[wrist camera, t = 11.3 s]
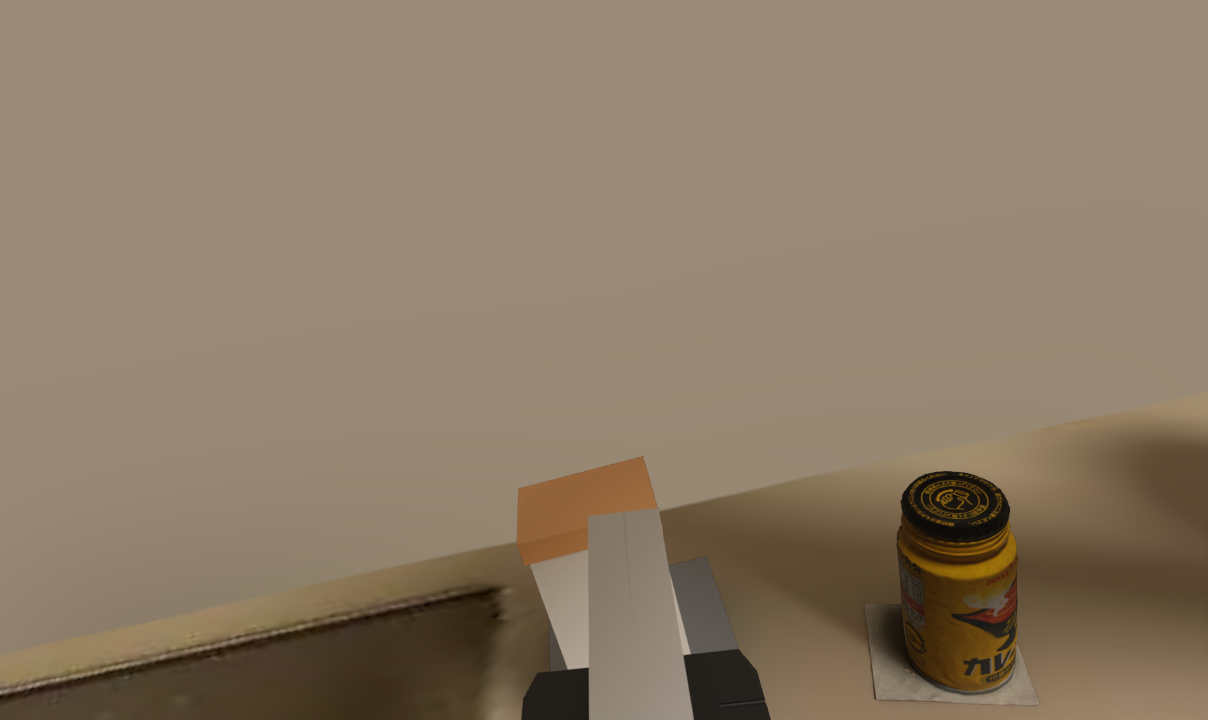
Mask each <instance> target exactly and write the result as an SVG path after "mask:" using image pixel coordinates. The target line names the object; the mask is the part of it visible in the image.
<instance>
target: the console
mask: <svg viewBox="0 0 1208 720" xmlns="http://www.w3.org/2000/svg"><path fill="white" fill-rule="evenodd" d="M668 567H669V572H670V576H671V580H672V583H673V587H674V591H675V595H676V599H677V603H678V607H679V611H680V614H681V618H682V622H683V626H684V630H685V634H686V638H687V641H688V645H689V649H690V653H691V654H697V653H706V652H715V651H724V650H732V649H739V648H738V645H737V642H736V640H735V637H734V634H733V631H732V628H731V625H730V623H729V620H728V617H727V614H726V611H725V608H724V605H723V603H722V600H721V597H720V594H719V591H718V588H717V586H716V583H715V580H714V577H713V574H712V571H711V568H710V566H709V563H708V560H707V557H706V556H705V557H701V558H697V559H693V560H689V561H685V562H681V563H677V564H674V565H670V566H668ZM549 642H550V672H551V671H560V670H568V668H567V666H566V663H565V660H564V657H563V655H562V652H561V649H560V646H559V644H558V641H557V638H556V635H555V633H554V630H553V627H552V624H551V622H550V619H549Z"/></svg>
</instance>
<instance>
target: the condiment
mask: <svg viewBox="0 0 1208 720" xmlns="http://www.w3.org/2000/svg"><path fill="white" fill-rule="evenodd" d="M901 508H902V512H903V513H902V517H901V523H902V525H901V526H900V527H899V530H898V532H897V550H898V562H899V574H900V584H901V600H902V603H901V605H896V604H892V605H891V604H881V603H877V604H864V607H865V613H866V622H867V630H868V638H869V646H870V654H871V662H872V669H873V677H874V685H875V693H876V699H877V700H888V699H891V700H905V701H907V700H917V701H937V702H953V703H968V704H971V703H973V704H997V705H1008V704H1013V705H1036V704H1039V701H1038V699H1037V696H1036V693H1035V690H1034V687H1033V685H1032V682H1031V679H1030V677H1029V674H1028V671H1027V668H1026V665H1025V662H1024V660H1023V657H1022V654H1021V651H1020V648H1019V646H1018V643H1017V603H1018V601H1017V562H1018V557H1017V546H1016V541H1015V538H1014V536H1013V534H1012V532H1011V531H1010V523H1009V513H1010V507H1009V505H1008V501H1007V499H1006V497H1005V495H1004V494H1003V493H1002V491H1001V489H998V488H997V487H996V486H995V485H994V484H993V483H991V482H990V481H988V480H985V479H983V478H980V477H978V476H975V475H972V474H968V473H964V472H952V471H941V472H933V473H929V474H925V475H923V476H921V477H918V478H917V479H916V480H915V481H913V482H912V483H911V484H910V485H909V486H908V487H907V489H906V490H905V491H904V493H903V495H902V500H901ZM905 668H906V669H908V670H909V671H910V672H911V673H908V672H906V671H905ZM912 673H915V674H916V675H917V677H916V676H914V675H912Z"/></svg>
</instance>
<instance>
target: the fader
mask: <svg viewBox="0 0 1208 720" xmlns="http://www.w3.org/2000/svg"><path fill="white" fill-rule="evenodd" d="M652 508H658V507H657V504H656V500H655V497H654V493H653V490H652V486H651V482H650V479H649V475H648V472H647V468H646V464H645V461H644V457H643V456H642V457H638V458H635V459H630V460H627V461H623V462H619V463H615V464H611V465H607V466H603V467H600V468H596V469H592V470H588V471H584V472H580V473H577V474H573V475H569V476H565V477H561V478H558V479H554V480H550V481H546V482H542V483H538V484H534V485H530V486H527V487H523V488H519V490H518V521H517V547H518V549H519V552H520V555H521V558H522V560H523V563H524V566H526V565H530V566H531V569H532V572H533V575H534V577H535V580H536V583H537V586H538V588H539V591H540V594H541V597H542V599H543V602H544V605H545V608H546V611H547V613H548V616H549V619H550V622H551V624H552V627H553V630H554V633H555V635H556V638H557V641H558V644H559V646H560V649H561V652H562V655H563V657H564V660H565V663H566V666H567V668H568V670H569V669H578V668H587V667H589V604H588V516H592V515H601V514H609V513H618V512H626V511H635V510H644V509H652ZM661 525H662V523H661ZM662 530H663V527H662ZM669 573H670V572H669ZM670 579H671V576H670ZM671 585H672V591H673V597H674V603H675V609H676V615H677V621H678V627H679V633H680V639H681V645H682V652H683V655H688V654H691V653H690V649H689V645H688V641H687V638H686V634H685V630H684V626H683V622H682V618H681V614H680V611H679V607H678V603H677V599H676V595H675V591H674V587H673V583H672V580H671Z"/></svg>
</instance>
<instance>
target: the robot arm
mask: <svg viewBox="0 0 1208 720" xmlns="http://www.w3.org/2000/svg"><path fill="white" fill-rule="evenodd" d="M588 604H589V667H587V668H578V669H569V670H560V671H551V672H542V673H537V675H536V677H535V678H534V680H533V682H532V684H531V686H530V688H529V689H528V691H527V693H526V695H525V697H524V699H523V707H522V717H521V720H771V719H770V715H769V712H768V708H767V705H766V703H765V698H764V694H763V691H762V687H761V684H760V680H759V677H758V673H757V671H756V669H755V668H754V667H753V666H752V665H751V663H750V662H749V661H748V660H747V659H746V657H745V656H744V655H743V654H742V653H741V652H740V650H739V649H732V650H724V651H715V652H706V653H697V654H688V655H683V652H682V645H681V639H680V633H679V627H678V621H677V615H676V609H675V603H674V597H673V591H672V585H671V579H670V573H669V567H668V561H667V555H666V549H665V543H664V537H663V531H662V525H661V519H660V513H659V508H652V509H644V510H635V511H626V512H618V513H609V514H601V515H592V516H588Z"/></svg>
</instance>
